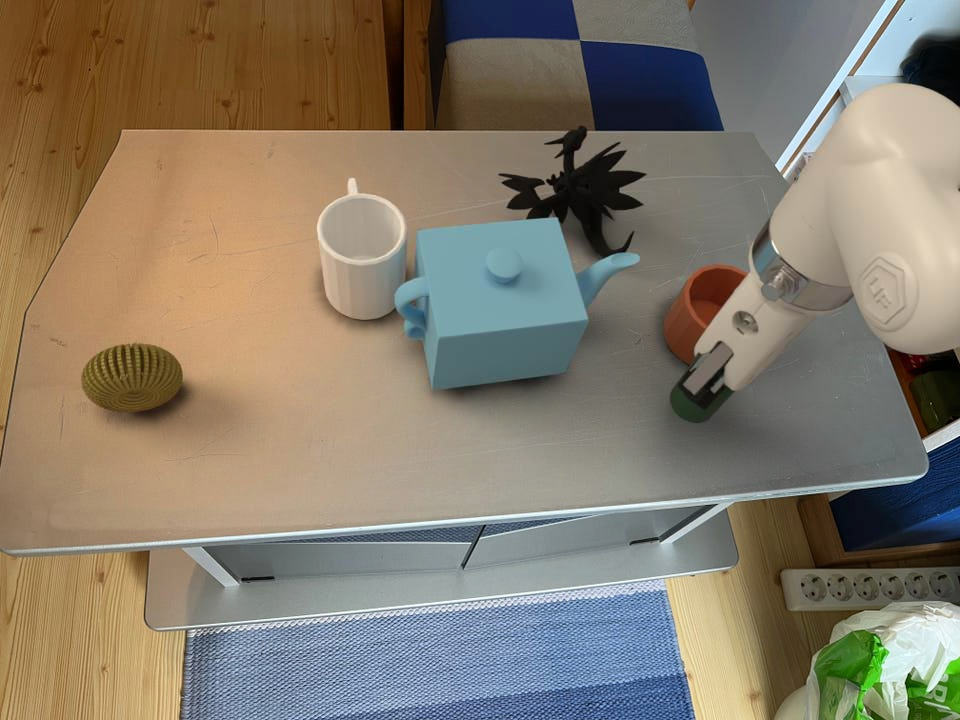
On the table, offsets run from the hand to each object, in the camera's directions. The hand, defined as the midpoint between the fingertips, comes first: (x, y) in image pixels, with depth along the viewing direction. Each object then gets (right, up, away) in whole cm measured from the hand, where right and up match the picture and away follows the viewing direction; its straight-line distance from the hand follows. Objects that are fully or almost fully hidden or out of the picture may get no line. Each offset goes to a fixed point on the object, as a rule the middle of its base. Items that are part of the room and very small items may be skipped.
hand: (711, 379), depth 66 cm
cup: (+3, +4, +12) cm, 13 cm away
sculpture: (-51, -2, +2) cm, 51 cm away
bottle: (-1, -2, +4) cm, 5 cm away
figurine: (-12, +16, +16) cm, 26 cm away
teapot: (-18, +4, +9) cm, 21 cm away
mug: (-33, +11, +11) cm, 36 cm away
